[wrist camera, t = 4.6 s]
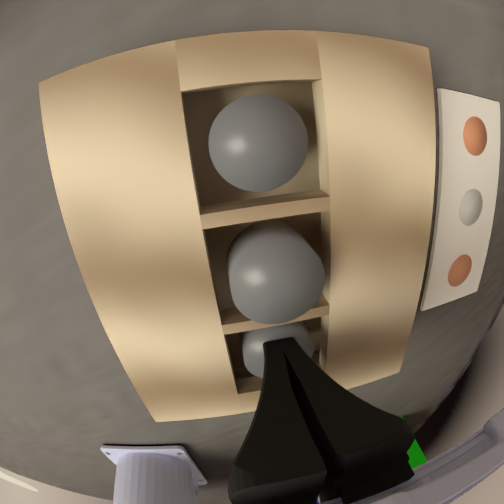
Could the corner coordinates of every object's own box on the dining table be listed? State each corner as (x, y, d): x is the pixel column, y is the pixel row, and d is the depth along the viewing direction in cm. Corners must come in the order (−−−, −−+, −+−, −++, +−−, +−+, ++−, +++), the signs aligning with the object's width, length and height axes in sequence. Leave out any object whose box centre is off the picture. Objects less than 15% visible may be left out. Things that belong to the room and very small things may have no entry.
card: (474, 289, 18) (477, 291, 18) (419, 308, 18) (422, 312, 17) (496, 102, 12) (500, 102, 12) (437, 88, 12) (441, 88, 11)
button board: (374, 336, 18) (399, 372, 15) (160, 377, 17) (155, 421, 14) (383, 57, 11) (428, 47, 8) (77, 89, 10) (38, 83, 7)
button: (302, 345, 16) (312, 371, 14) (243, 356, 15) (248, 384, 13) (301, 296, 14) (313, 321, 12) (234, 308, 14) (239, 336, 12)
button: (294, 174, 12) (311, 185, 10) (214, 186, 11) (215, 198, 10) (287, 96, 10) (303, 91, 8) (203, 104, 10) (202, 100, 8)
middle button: (308, 286, 13) (324, 314, 11) (232, 300, 12) (237, 331, 10) (306, 214, 11) (324, 233, 9) (220, 227, 11) (223, 250, 9)
